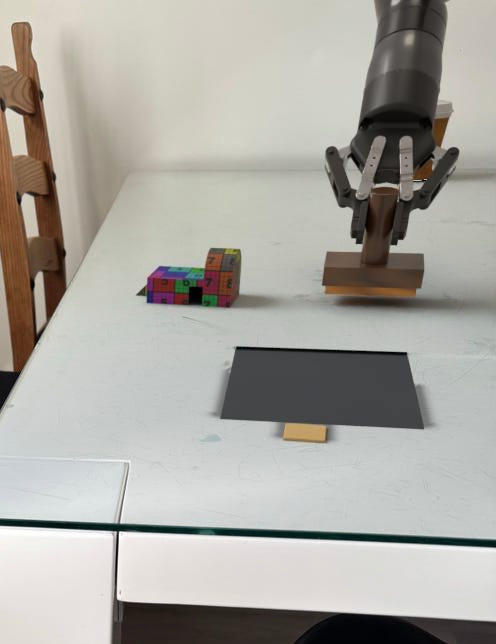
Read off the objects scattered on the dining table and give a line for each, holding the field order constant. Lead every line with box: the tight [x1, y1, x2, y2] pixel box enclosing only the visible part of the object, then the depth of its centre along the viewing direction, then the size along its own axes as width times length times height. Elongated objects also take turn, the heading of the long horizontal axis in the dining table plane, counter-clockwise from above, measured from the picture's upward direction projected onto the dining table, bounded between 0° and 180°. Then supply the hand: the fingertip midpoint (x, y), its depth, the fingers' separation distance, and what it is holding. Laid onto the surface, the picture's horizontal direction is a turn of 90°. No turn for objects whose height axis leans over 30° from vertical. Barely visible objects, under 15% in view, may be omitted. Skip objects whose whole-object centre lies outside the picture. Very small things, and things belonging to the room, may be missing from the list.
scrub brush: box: [321, 186, 425, 298], centre depth 105 cm, size 10×5×10 cm, turn 73°
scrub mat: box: [219, 345, 425, 430], centre depth 90 cm, size 16×21×1 cm
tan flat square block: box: [282, 422, 327, 444], centre depth 80 cm, size 3×3×1 cm
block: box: [135, 247, 242, 309], centre depth 113 cm, size 12×8×7 cm
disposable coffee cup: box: [413, 99, 454, 180], centre depth 173 cm, size 10×10×12 cm
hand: (377, 239), depth 102 cm, fingers closed on scrub brush, 3 cm apart
